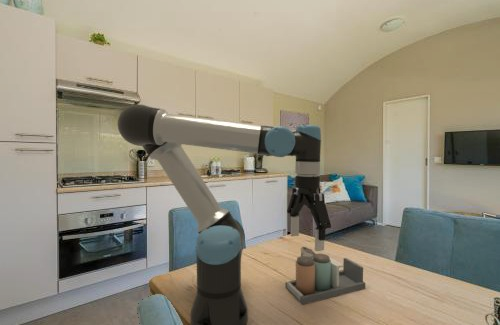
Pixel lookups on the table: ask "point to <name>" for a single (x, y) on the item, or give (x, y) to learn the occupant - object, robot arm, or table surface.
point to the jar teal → (322, 272)
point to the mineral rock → (307, 252)
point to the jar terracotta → (305, 275)
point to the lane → (347, 283)
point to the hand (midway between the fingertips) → (306, 242)
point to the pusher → (335, 273)
